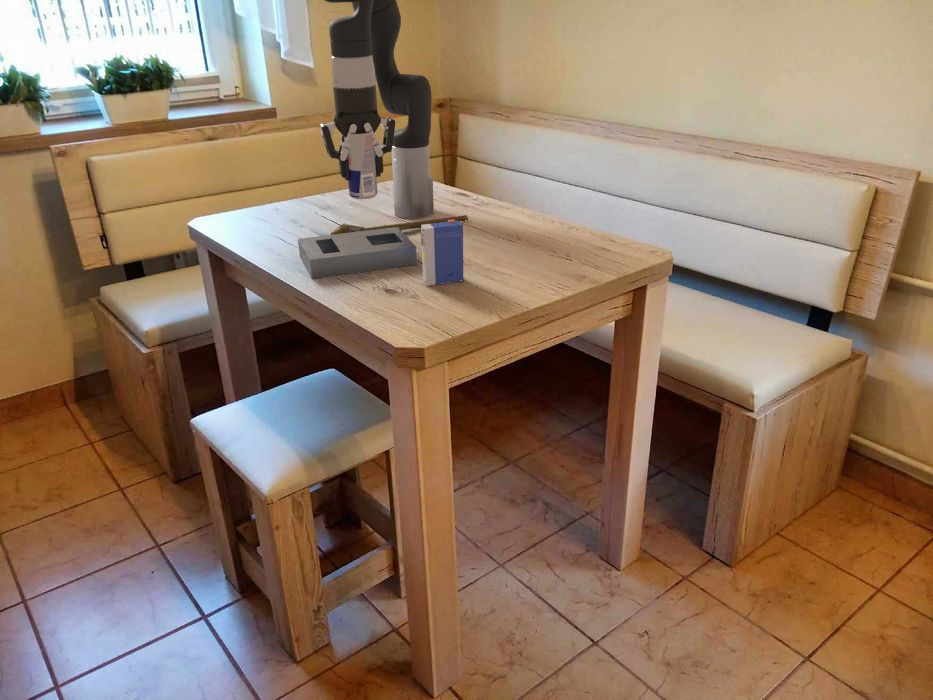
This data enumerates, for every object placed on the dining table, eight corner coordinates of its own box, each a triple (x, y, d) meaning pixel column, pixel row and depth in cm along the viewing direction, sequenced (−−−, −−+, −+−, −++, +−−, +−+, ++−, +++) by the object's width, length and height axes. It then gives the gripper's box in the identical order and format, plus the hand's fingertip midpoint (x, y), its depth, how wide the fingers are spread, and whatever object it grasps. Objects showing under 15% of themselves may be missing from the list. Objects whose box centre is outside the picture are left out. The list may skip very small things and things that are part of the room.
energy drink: (350, 192, 144) (344, 128, 138) (377, 190, 144) (373, 127, 139) (348, 200, 139) (342, 134, 134) (377, 199, 140) (372, 133, 134)
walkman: (458, 276, 151) (458, 218, 145) (463, 281, 148) (463, 222, 143) (421, 281, 148) (419, 223, 143) (425, 286, 146) (423, 227, 140)
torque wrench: (460, 224, 187) (470, 230, 183) (328, 241, 170) (336, 249, 167) (462, 205, 184) (472, 212, 181) (328, 222, 168) (336, 229, 164)
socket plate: (398, 244, 168) (397, 226, 167) (416, 264, 157) (416, 246, 155) (299, 256, 161) (297, 238, 160) (311, 278, 150) (309, 260, 148)
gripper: (387, 77, 138) (393, 168, 146) (309, 82, 133) (320, 177, 141) (399, 82, 131) (404, 178, 139) (318, 89, 127) (328, 187, 135)
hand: (362, 177), depth 140 cm, fingers closed on energy drink, 5 cm apart
